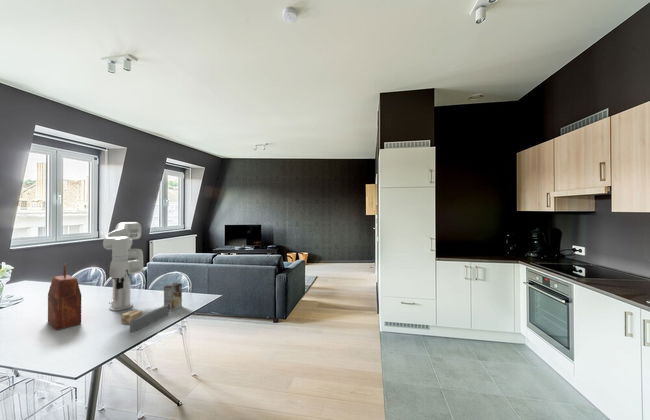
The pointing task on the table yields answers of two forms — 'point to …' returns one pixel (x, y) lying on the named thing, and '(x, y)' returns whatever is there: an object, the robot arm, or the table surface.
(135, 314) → the oak block
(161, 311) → the gray flat board
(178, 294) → the coffee box
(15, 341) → the table surface
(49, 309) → the wooden peaked block
